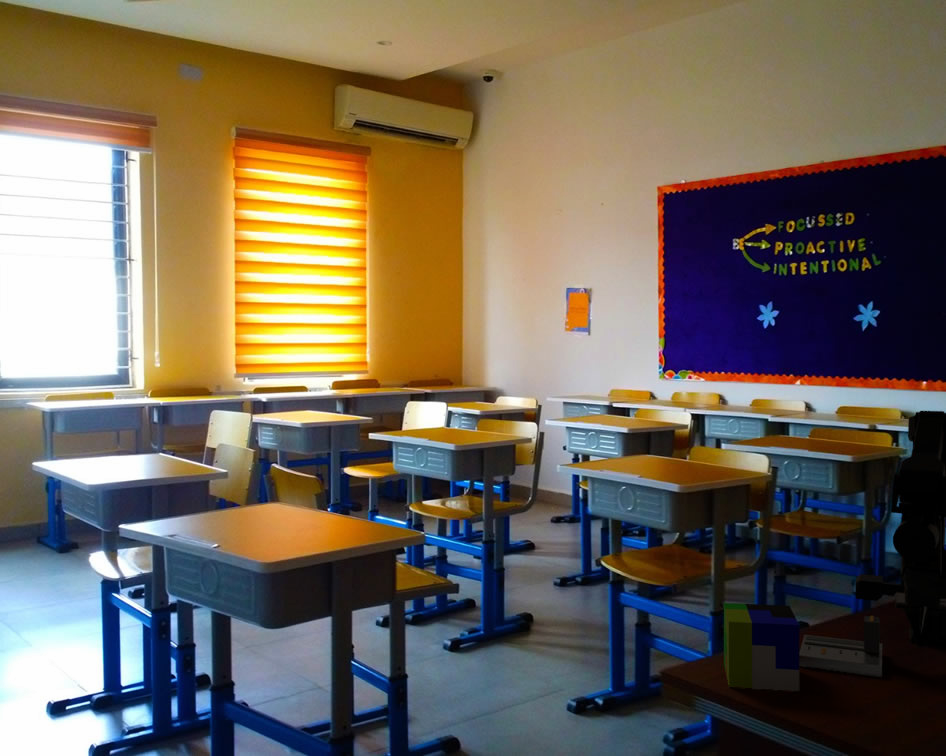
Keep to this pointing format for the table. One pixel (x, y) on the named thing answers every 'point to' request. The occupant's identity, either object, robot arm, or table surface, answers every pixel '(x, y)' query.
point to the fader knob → (871, 634)
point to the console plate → (839, 656)
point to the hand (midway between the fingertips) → (920, 646)
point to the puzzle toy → (761, 646)
